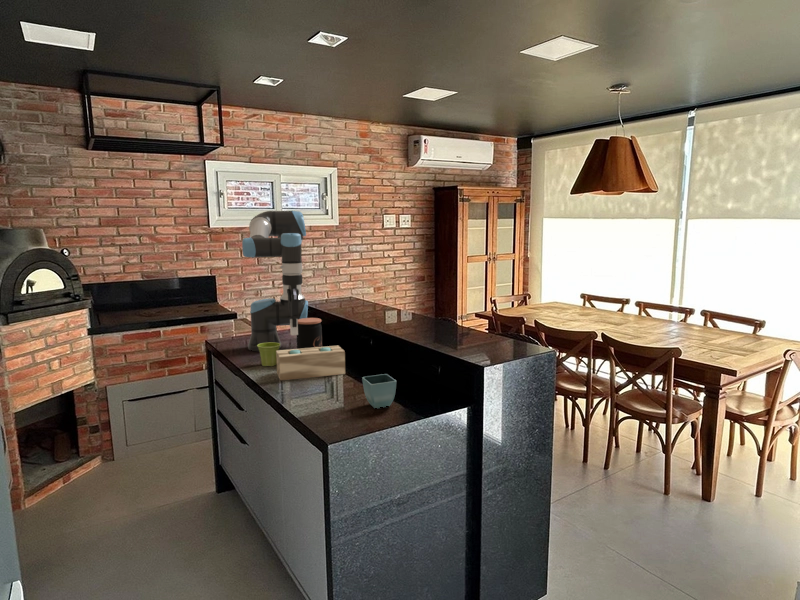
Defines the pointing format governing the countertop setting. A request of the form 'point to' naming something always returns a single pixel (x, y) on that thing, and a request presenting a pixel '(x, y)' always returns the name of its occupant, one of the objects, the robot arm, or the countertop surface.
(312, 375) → the socket block
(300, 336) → the coffee jar
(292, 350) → the peg
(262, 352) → the plant pot
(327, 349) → the peg
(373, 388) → the flower pot
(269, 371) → the countertop surface
